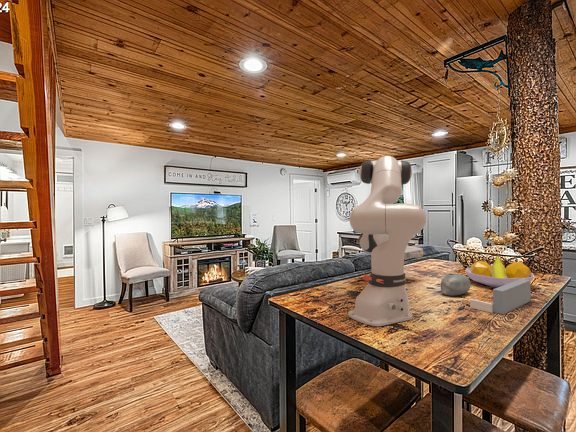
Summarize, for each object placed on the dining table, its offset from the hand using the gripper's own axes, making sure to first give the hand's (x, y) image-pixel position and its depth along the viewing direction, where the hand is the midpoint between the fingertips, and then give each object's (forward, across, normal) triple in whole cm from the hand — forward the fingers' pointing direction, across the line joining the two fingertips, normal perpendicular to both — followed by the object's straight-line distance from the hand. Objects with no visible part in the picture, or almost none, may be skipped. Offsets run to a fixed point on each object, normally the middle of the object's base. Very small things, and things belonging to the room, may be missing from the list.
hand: (420, 255), depth 137 cm
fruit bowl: (+20, +30, +15) cm, 39 cm away
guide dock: (+33, -1, +14) cm, 36 cm away
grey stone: (+16, 0, +15) cm, 22 cm away
